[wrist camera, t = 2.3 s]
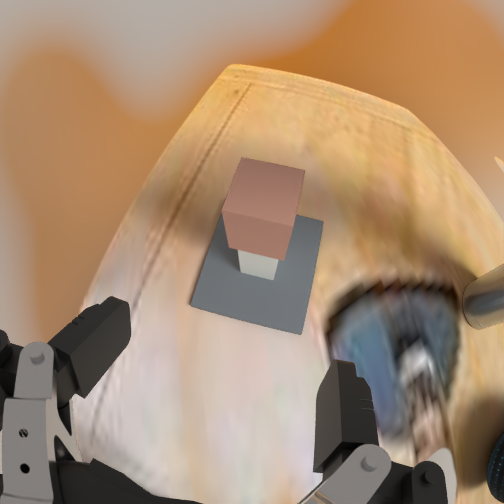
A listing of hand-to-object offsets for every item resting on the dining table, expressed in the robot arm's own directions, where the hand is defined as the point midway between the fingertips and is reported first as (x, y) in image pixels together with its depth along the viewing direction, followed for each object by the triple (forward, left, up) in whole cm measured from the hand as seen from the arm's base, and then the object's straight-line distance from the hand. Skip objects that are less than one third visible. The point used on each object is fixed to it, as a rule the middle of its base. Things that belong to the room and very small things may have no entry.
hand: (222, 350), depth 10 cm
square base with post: (-11, -9, -29) cm, 32 cm away
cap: (-11, -9, -18) cm, 23 cm away
